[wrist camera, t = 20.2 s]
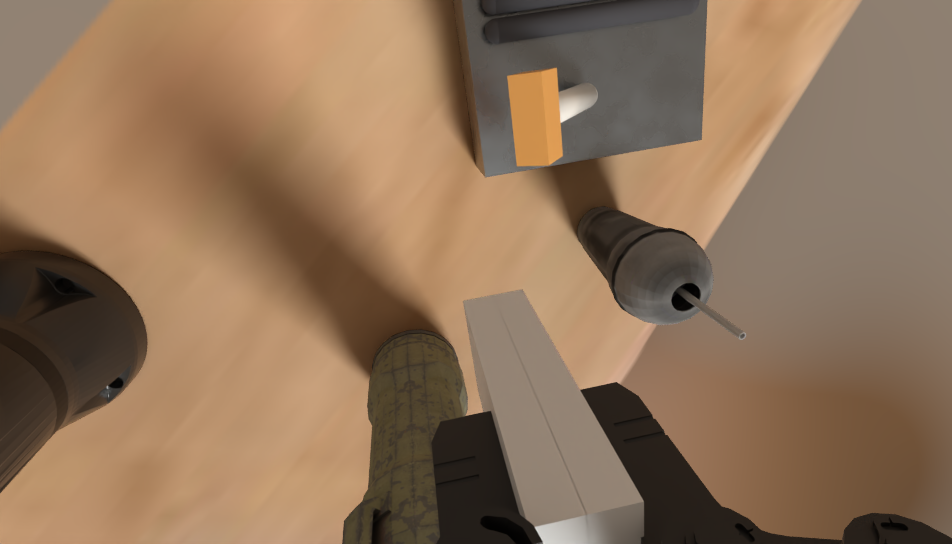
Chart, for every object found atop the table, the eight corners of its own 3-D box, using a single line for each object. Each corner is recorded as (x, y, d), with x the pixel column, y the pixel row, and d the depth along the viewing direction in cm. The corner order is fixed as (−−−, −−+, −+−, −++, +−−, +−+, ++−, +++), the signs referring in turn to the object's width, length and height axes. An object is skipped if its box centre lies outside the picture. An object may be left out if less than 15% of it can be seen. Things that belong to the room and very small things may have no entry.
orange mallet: (577, 129, 38) (516, 166, 29) (573, 59, 36) (507, 75, 27) (603, 127, 37) (548, 165, 28) (600, 56, 35) (541, 71, 26)
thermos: (388, 305, 47) (373, 806, 15) (486, 360, 51) (639, 848, 19) (340, 373, 49) (236, 943, 17) (438, 421, 53) (502, 955, 21)
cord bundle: (484, 46, 35) (488, 45, 34) (478, -9, 34) (481, -12, 32) (691, 14, 36) (703, 12, 35) (693, -39, 35) (706, -44, 34)
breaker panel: (476, 165, 43) (485, 177, 39) (432, -146, 35) (438, -179, 30) (670, 132, 45) (701, 139, 40) (675, -175, 36) (715, -210, 32)
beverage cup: (586, 179, 45) (715, 254, 27) (649, 209, 47) (809, 298, 29) (550, 249, 47) (646, 362, 29) (611, 274, 50) (738, 395, 31)
